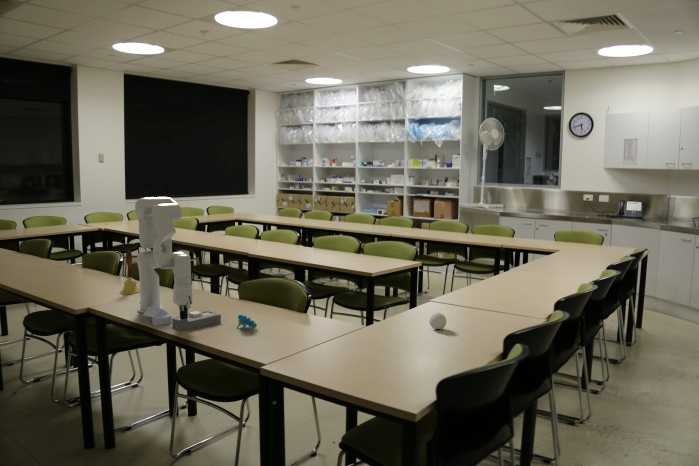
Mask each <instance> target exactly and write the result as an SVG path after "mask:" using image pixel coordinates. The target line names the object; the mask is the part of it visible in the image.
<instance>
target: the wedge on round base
mask: <svg viewBox="0 0 699 466" xmlns="http://www.w3.org/2000/svg"><path fill="white" fill-rule="evenodd" d="M172 315H173V314H172V313H169V312H167V311H166V310H164V308H163V309H160V308H155V307H149V308H148V309H147V310H146V311H145V313H142V316H145V317H148V318H149V317H150V318H151V323H152V324H153V325H156V326H162V325H167V324H168V325H169V324H171V323H173V321H172V318H173V317H172Z"/></svg>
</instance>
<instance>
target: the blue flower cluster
mask: <svg viewBox="0 0 699 466" xmlns="http://www.w3.org/2000/svg"><path fill="white" fill-rule="evenodd" d="M237 319H238V320H237V322H238V325H237V327H236V329H239V327H240V326H242V327H241V329H240V330H241V331H244V329H245V328H246V326H248V327H249V328H251V327H252V328H257V327H258V324H257V323H256V322H255V321H254V320H252V319H251V318H250V317H247V316H246V315H243V314H238V315H237Z"/></svg>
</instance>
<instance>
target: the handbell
mask: <svg viewBox="0 0 699 466" xmlns="http://www.w3.org/2000/svg"><path fill="white" fill-rule="evenodd" d="M125 261H126V264H127V265H126V266H127V279H125V280H124V282H123V288H122V289H121V290H120V291H119V294H120V295H136V294H140V288H138V286H137V281H136V279H134V278H133V277H132V276H133V273H132V272H133V271H132V268H133V267H132V264H133V254H132V251H131V250H126V255H125Z"/></svg>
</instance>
